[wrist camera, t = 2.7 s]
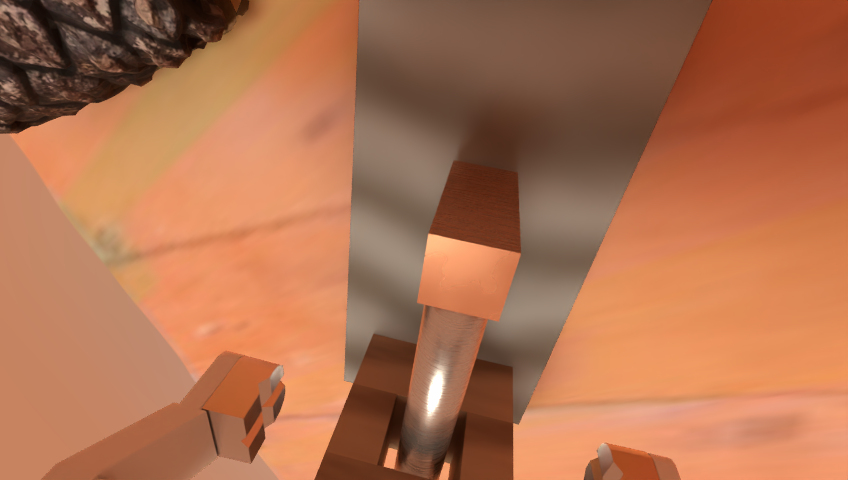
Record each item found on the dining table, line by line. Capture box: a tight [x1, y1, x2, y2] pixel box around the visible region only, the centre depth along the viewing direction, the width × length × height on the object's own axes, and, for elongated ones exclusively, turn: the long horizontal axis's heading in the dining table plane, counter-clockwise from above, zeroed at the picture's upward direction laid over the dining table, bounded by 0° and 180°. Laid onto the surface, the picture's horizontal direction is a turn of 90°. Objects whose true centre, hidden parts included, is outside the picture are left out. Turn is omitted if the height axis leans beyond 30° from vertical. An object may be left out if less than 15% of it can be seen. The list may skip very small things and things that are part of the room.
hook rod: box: [394, 160, 521, 480], centre depth 22 cm, size 21×3×7 cm, turn 172°
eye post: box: [315, 0, 712, 480], centre depth 18 cm, size 32×14×13 cm, turn 172°
